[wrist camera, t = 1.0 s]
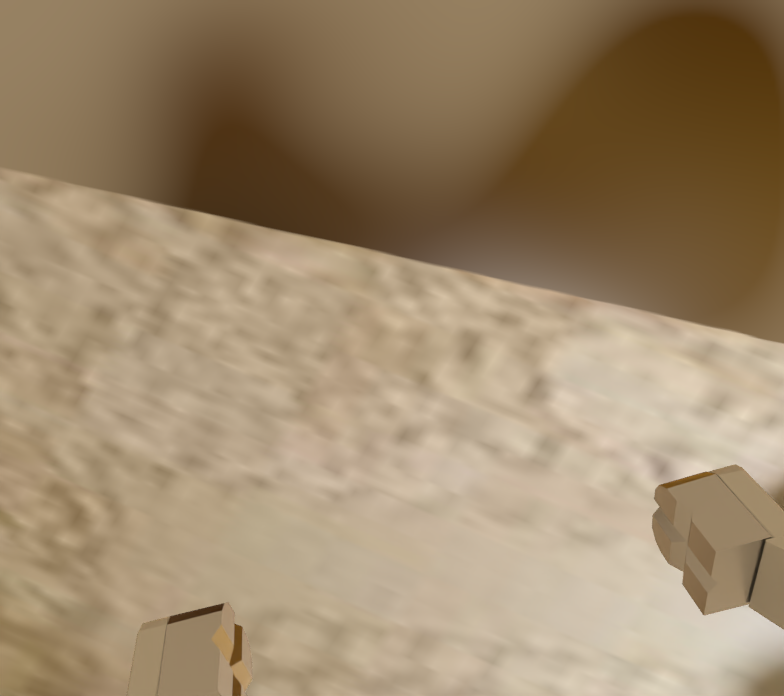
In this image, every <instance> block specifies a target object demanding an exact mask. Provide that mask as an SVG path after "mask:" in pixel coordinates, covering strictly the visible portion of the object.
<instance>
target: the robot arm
mask: <svg viewBox="0 0 784 696" xmlns="http://www.w3.org/2000/svg"><path fill="white" fill-rule="evenodd" d="M654 499H655V501H656V502H657V504H658V505H659V506H660V507H659V508H658V509H657V511H656V512H655V513H654V514H653V519H652V529H653V532H654V536H655V540H656V543H657V545H658V547H659V549H660V551H661V553H662V554H663V556H664V557H665V559H666V561H667V562H668V564H670V565H672V566H674V567H676V568H677V569H679V570H681V571H683V583H682V584H683V586H684V587H685V589H686V590H687V592H688V593H689V595H690V596H691V598H692V599H693V600H694V602H695V603H696V605H697V606H698V608H699V609H700V611H701V612H702V614H703V615H708V614H712V613H716V612H720V611H724V610H728V609H732V608H735V607H739V606H743V605H747V604H749V607H750V608H751V609H753V610H755V611H756V612H758V613H759V614H761V615H762V616H764V617H765V618H767V619H768V620H770V621H771V622H773V623H775V624H776V625H778V626H779V627H781V628H782V629H784V511H783V510H782V509H781V508H780V507H779V505H778V504H777V503H776V502H775V501H774V500H773V499H772V498H771V497H770V496H769V495H768V494H767V493H766V492H765V491H764V490H763V489H762V488H761V487H760V486H759V485H758V484H757V483H756V482H755V480H754V479H753V478H752V477H751V476H750V475H749V474H748V473H747V472H746V471H745V470H744V469H743V468H742V467H740V466H738V465H731V466H727V467H724V468H720V469H716V470H713V471H710V472H703V473H699V474H696V475H692V476H689V477H685V478H682V479H678V480H675V481H671V482H668V483H664V484H661V485H659V486H658V487H657V488H656V490H655V497H654ZM234 622H235V612H234V610H233V609H232V607H231V605H230V604H229V602H226V603H222V604H218V605H214V606H210V607H206V608H202V609H198V610H194V611H190V612H186V613H181V614H177V615H173V616H169V617H165V618H161V619H157V620H154V621H150V622H146V623H143V624H142V626H141V628H140V630H139V632H138V634H137V639H136V645H135V651H134V656H133V662H132V667H131V673H130V679H129V684H128V690H127V696H247V694H246V692H245V691H246V689H247V688H248V686H249V684H250V683H251V681H252V679H253V677H252V657H251V650H250V644H249V641H248V638H247V635H246V633H245V631H244V629H243V627H242V626H239V625H237V624H235V623H234Z"/></svg>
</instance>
